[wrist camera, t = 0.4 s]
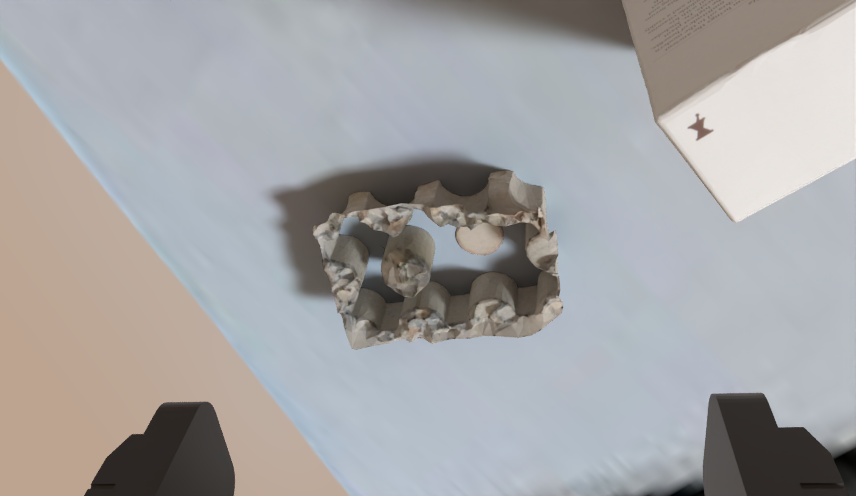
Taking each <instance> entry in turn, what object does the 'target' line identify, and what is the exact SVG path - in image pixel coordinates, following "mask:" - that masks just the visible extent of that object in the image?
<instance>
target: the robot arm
mask: <svg viewBox="0 0 856 496" xmlns="http://www.w3.org/2000/svg"><path fill="white" fill-rule="evenodd" d="M703 482H704V492H705V496H849V493H848V491H847V489H844V482H843V480H842V478H841V476H840V473H839V471H838V469H837V467H836V465H835V462H834V460H833V458H832V456H831V453H830V452H829V451H828V450H827V449H826V448H825V447H824V446H822V445H821V444H820V443H819V442H818V441H817V440H816V439H815V438H814V437H813V436H812V435H811V434H810V433H809V432H808V431H807V430H806V429H805V428H804V427H786V428H778V426H777V424H776V421H775V419H774V416H773V413H772V411H771V408H770V406H769V403H768V401H767V399H766V397H765V395H764V394H763V393H727V394H711V396H710V399H709V406H708V416H707V427H706V438H705V449H704V460H703ZM234 488H235V474H234V467H233V464H232V461H231V458H230V455H229V452H228V448H227V446H226V442H225V440H224V436H223V433H222V430H221V428H220V424H219V421H218V418H217V415H216V412H215V410H214V407H213V406H212V405H211V404H210V403H209V402H168V403H163V404H162V405H161V406H160V407H159V408H158V409H157V411H156V413H155V415H154V416H153V418H152V420H151V422H150V423H149V425H148V427H147V429H146V431H145V432H144V434H132V435H131V436H129V438H127V439H126V440H125V441H124V442H123V443H122V444H121V445H120V446H119V447H118V448H116V449H115V450H114V451H113V452H112V453H111V454H110V455H109V456H108V457H107V458H106V459H105V461H104V463H103V464H102V466H101V468H100V470H99V471H98V473H97V475H96V476H95V478H94V480H93V481H92V484H91V489H88V490H87V492H86V493H85V495H84V496H233V495H234Z"/></svg>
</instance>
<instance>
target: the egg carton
mask: <svg viewBox="0 0 856 496" xmlns="http://www.w3.org/2000/svg"><path fill="white" fill-rule="evenodd" d="M488 180H489V181H488V183H487V185H486V187H485V188H484V189H483V190H482V191H481V192H479V193H477V194H475V195H472V196H468V197H462V196H458V195H455V194H452V193H451V192H449V191H447V190H446V189H445V188H444V187H443V186H442V184H441V182H440V181H439V180H438V181H433V182H430V183H428V184H425V185H421V186H418V189H417V192H416V193H415V198H414V200H412V201H411V202H410V203H408V204H405V203H400V204H396V205H392V206H385V205H383V204H381V203H380V202H378V201H377V200H376V199H375V198H374V197H373V196H372V194H371V193H370V192H357V193H354V194H351V195H349V199H348V205H347V207H346V209H345V211H344V212H343V213H342V214H339V213H332V214H331V215H330V216H329V218H328V221H327V222H326V223H323V224H321V225H319V226H316V225H314V226H313V235H314V237H315V239H317V240H318V242H319V245H320V248H321V253H322V262H323V267H324V271H325V272H326V273H327V275H328V278H329V282H330V286H331V291H332V293H333V295H334V299H335V303H336V306H337V311H338V313H340V314H341V315H342V318H343V323H344V328H345V332H346V335H347V337H348V340H349V343H350V345H351V348H352V349H356V350H357V349H361V348H366V347H370V346H375V345H380V344H387V343H390V342H392V341H394V340H399V339H406V340H407V341H409V342H413V341H415V340H416V339H417V338H424V339H425V340H427V341H428V342H430V343H432V344H433V343H437V342H440V341H444V340H448V339H460V338H474V337H478V336H503V337H517V338H519V337H524V336H530V335H533V334H535V333H536V332H538V331H540V330H541V329H542V328H544V327H545V326H546V325H547V324H549V323H550V322H551V321H553V320H554V319H555V318H556V317H557V316H558V315H560V314H561V313H562V308H563V304H562V301H561V299H560V298H559V293H560V281H559V276H558V262H557V256H558V246H557V236H556V231H553V232H551V233H549V230H548V226H547V222H546V199H545V193H544V188H543V187H541V186H534V185H529V184H526V183H524V182H522V181H521V180H520V179H519V178H518V177H517V176H516V175H515V173H514V172H513V171H510V170H503V171H498V172H493V173H490V177H489V178H488ZM413 209H420V210H422V211H424V212H425V214H426V215H427V216H428V217H429V218H430V219H431V220H432V221H433V222H434V223H436V224H437V225H438V226H440V227H442V226H445V225H447V224H450V225H453V226H455V227H457V230H456V239H457V241H458V243H459V245H460V246H461V247H462V248H463V249H464V250H465V251H467V252H469V253H471V254H477V255H488V254H491V253H493V252H494V251H496V250H497V249H498V248H499V247H500V245H501V244H502V243H503V239H504V233H503V230H502V228H501V226H509V225H513V224H516V223H519V222H525V223H526V230H525V235H526V238H525V251H526V255H527V257H528V259H529V260H530V261H531V262H532V263H533V265H534V266H535V267H537V268H539V269H541V270H542V272H541V273H540V275H539V277H538V283H537V285H536V286H531V287H517V285H516V284H515V282H514V281H513V280H512V279H511V278H510V277H509V276H507V275H505V274H502V273H497V272H488V273H484V274H482V275H480V276H478V277H477V278H476V279H475V280H474V281H473V283H472V285H471V290H470V293H469V294H465V295H456V296H451V295H450V294H449V293H448V291H447V290H446V289H445V288H444V287H443V286H442V285H440V284H438V283H436V282H433V281H430V276H431V269H432V264H433V258H434V253H435V243H434V240H433V238H432V236H431V235H430V234H429V233H428V232H427V231H426V230H424V229H422V228H419V227H416V226H412V225H407V226H405V225H406V224H407V223H408V222H409V221H410V219H411V218H412V214H413ZM350 216H356V217H359V221H360V222H363V223H366V224H367V225H368V226H370V227H371V228H372V229H373V230H376V231H383V232H385V233H387V234H389V235H390V236H389V238H388V241H387V245H386V248H384V247H383V246H382V247H383V248H384V249H385V252H384V255H383V259H382V264H381V272H382V277H383V281H384V283H385V284H386V285H387V286H389V287H390V288H392V289H393V290H394V291H395V292H396V293H398V294H400V295H402V296H404V302H398V303H386V301H385V300H384V299H383V297H382V296H381V295H379V294H378V293H377V292H375V291H372V290H370V289H366V288H361V285H362V283H363V280H364V276H365V272H366V269H367V265H368V260H369V252H368V249H367V247H366V246H365V245H364V244H363V243H362V242H361V241H360V240H358V239H357V238H354V237H352V236H348V235H339V232H340V229H341V225H342V223H343V220H344V218H347V217H350Z"/></svg>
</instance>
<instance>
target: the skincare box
mask: <svg viewBox="0 0 856 496" xmlns="http://www.w3.org/2000/svg"><path fill="white" fill-rule="evenodd" d="M622 4H623V8H624V11H625V14H626V17H627V22H628V26H629V30H630V33H631V37H632V40H633V44H634V47H635V50H636V54H637V57H638V61H639V65H640V68H641V72H642V75H643V78H644V81H645V85H646V88H647V91H648V95H649V99H650V103H651V107H652V111H653V116H654V120H655V122H656V124H657V125H658V126H659V127H660V129H661V130H662V131H663V132H664V134H665V135H666V136H667V137H668V139H669V140H670V141H671V143H672V144H673V145H674V146H675V148H676V149H677V150H678V151H679V153H680V154H681V155H682V157H683V158H684V159H685V161H686V162H687V163H688V164H689V166H690V167H691V168H692V170H693V171H694V172H695V174H696V175H697V176H698V178H699V179H700V180H701V181H702V183H703V184H704V185H705V187H706V188H707V189H708V191H709V192H710V193H711V194H712V196H713V197H714V198H715V200H716V201H717V202H718V204H719V205H720V206H721V208H722V209H723V210H724V212H725V213H726V214H727V216H728V217H729V218H730V219H731V220H732V221H733V222H739V221H741V220H742V219H744V218H746V217H748V216H750V215H752V214H753V213H755V212H757V211H759V210H761V209H763V208H765V207H766V206H768V205H770V204H772V203H774V202H776V201H778V200H780V199H781V198H783V197H785V196H787V195H789V194H791V193H793V192H795V191H796V190H798V189H800V188H802V187H804V186H806V185H808V184H809V183H811V182H813V181H815V180H817V179H819V178H821V177H822V176H824V175H826V174H828V173H830V172H832V171H834V170H835V169H837V168H839V167H841V166H843V165H845V164H846V163H848V162H850V161H852V160H854V159H856V0H622Z"/></svg>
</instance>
